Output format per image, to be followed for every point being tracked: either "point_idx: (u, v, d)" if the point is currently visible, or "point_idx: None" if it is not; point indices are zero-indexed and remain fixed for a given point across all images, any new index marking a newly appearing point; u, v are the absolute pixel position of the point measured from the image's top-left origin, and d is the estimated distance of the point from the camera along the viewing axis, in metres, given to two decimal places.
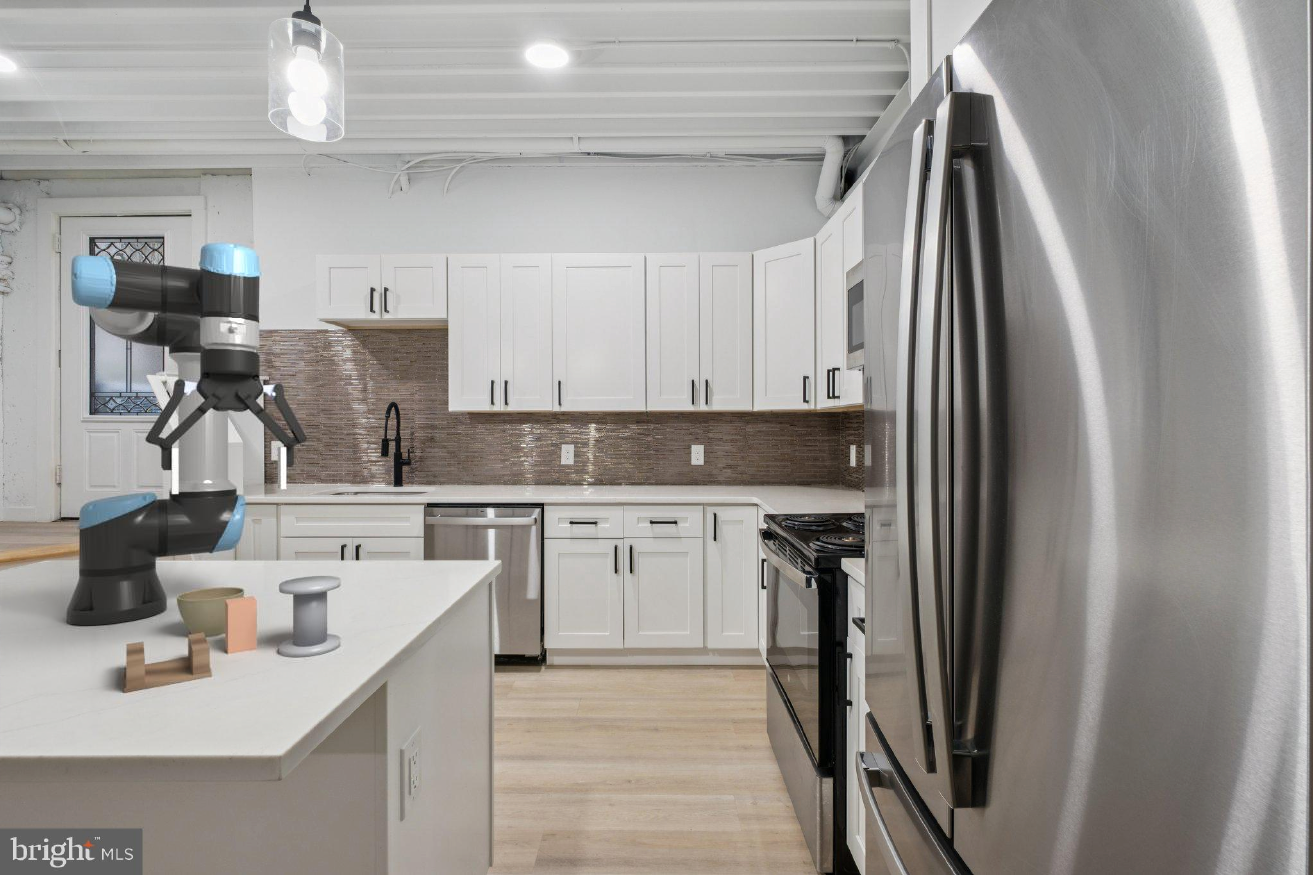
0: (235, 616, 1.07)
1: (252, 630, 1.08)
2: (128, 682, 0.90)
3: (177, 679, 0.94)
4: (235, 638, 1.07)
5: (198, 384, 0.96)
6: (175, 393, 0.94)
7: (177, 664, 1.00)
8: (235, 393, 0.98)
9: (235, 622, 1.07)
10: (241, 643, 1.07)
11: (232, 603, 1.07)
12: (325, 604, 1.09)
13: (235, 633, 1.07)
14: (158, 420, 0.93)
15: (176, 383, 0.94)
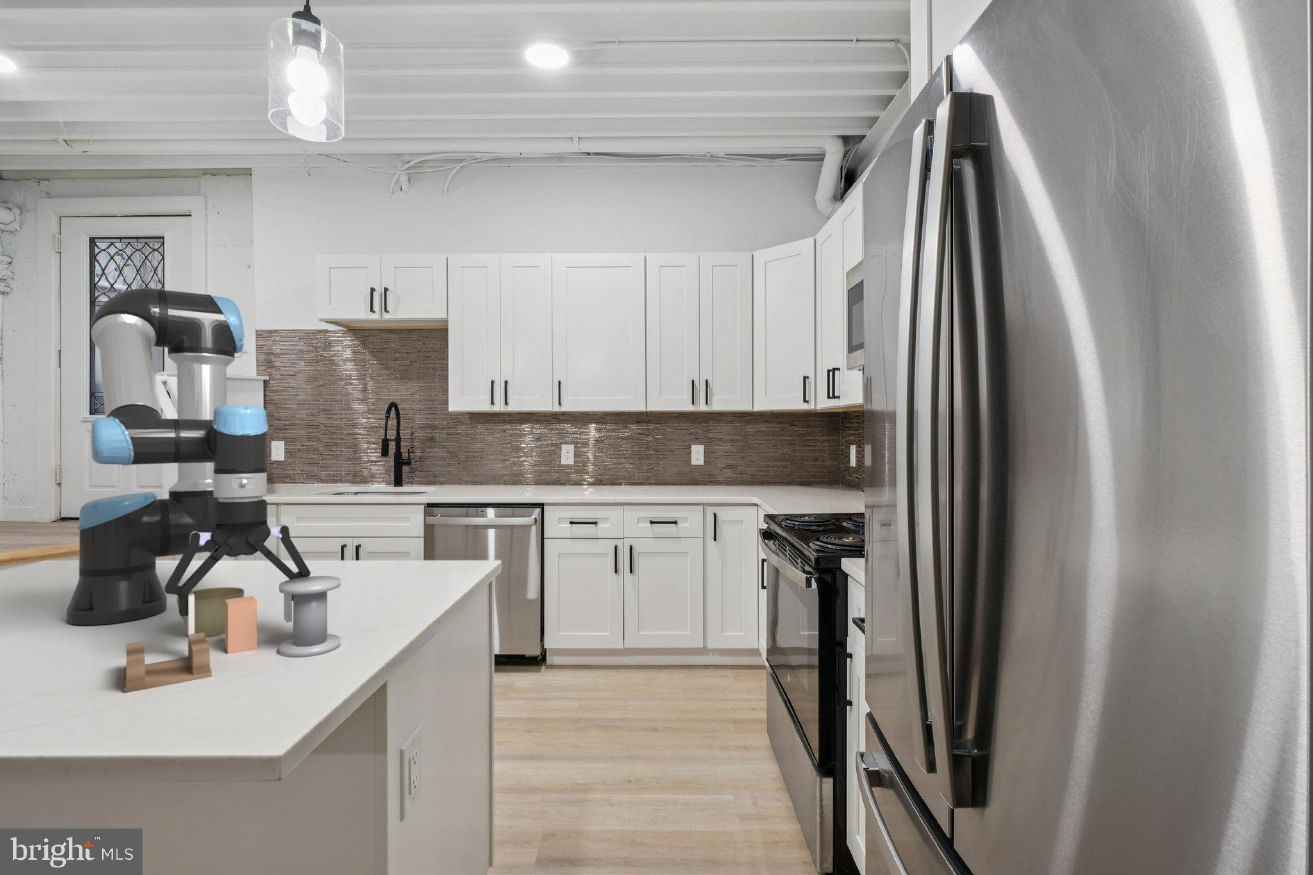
0: (235, 616, 1.07)
1: (252, 630, 1.08)
2: (128, 682, 0.90)
3: (177, 679, 0.94)
4: (235, 638, 1.07)
5: (212, 534, 1.06)
6: (191, 545, 1.03)
7: (177, 664, 1.00)
8: (245, 539, 1.08)
9: (235, 622, 1.07)
10: (241, 643, 1.07)
11: (232, 603, 1.07)
12: (325, 604, 1.09)
13: (235, 633, 1.07)
14: (176, 572, 1.02)
15: (192, 536, 1.04)
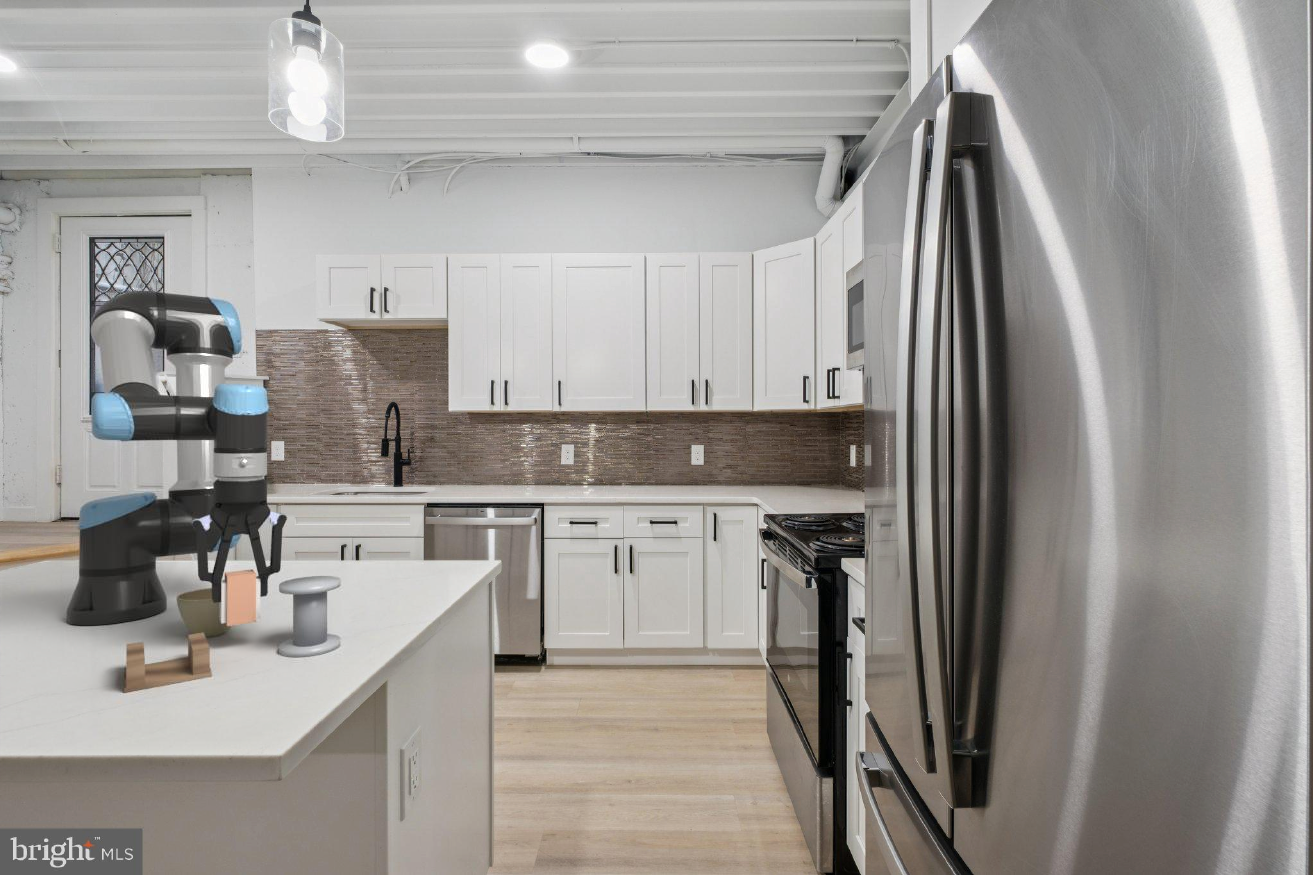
0: (234, 589, 1.07)
1: (251, 603, 1.09)
2: (128, 682, 0.90)
3: (177, 679, 0.94)
4: (234, 610, 1.07)
5: (211, 516, 1.06)
6: (198, 533, 1.04)
7: (177, 664, 1.00)
8: (245, 516, 1.08)
9: (234, 595, 1.07)
10: (240, 616, 1.08)
11: (231, 576, 1.07)
12: (325, 604, 1.09)
13: (234, 605, 1.07)
14: (199, 560, 1.05)
15: (194, 525, 1.04)
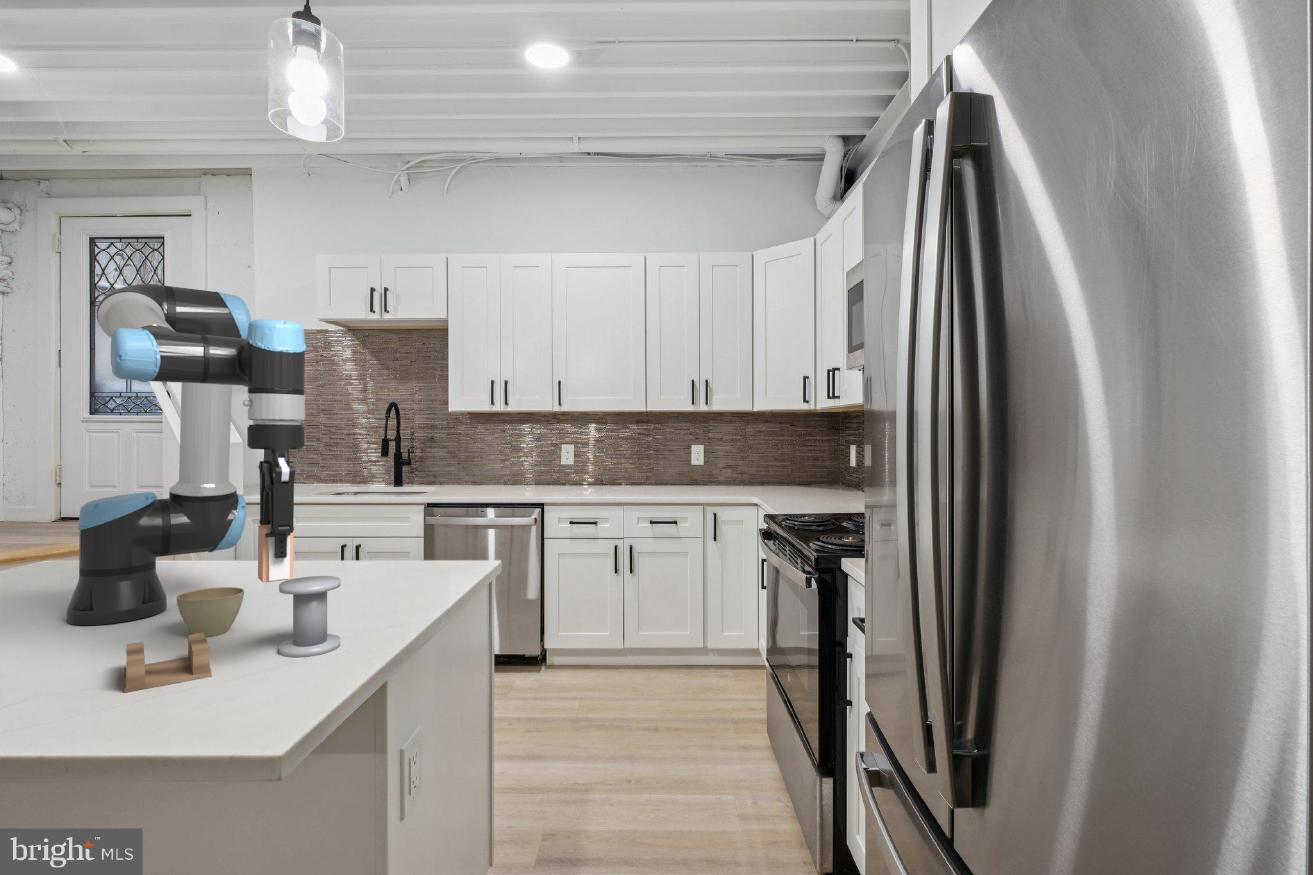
0: (259, 540, 1.00)
1: (262, 560, 0.98)
2: (128, 682, 0.90)
3: (177, 679, 0.94)
4: (259, 563, 1.00)
5: None
6: (260, 476, 1.04)
7: (177, 664, 1.00)
8: None
9: (259, 546, 1.00)
10: (260, 571, 0.99)
11: (260, 525, 1.00)
12: (325, 604, 1.09)
13: (259, 558, 1.00)
14: (260, 504, 1.04)
15: None
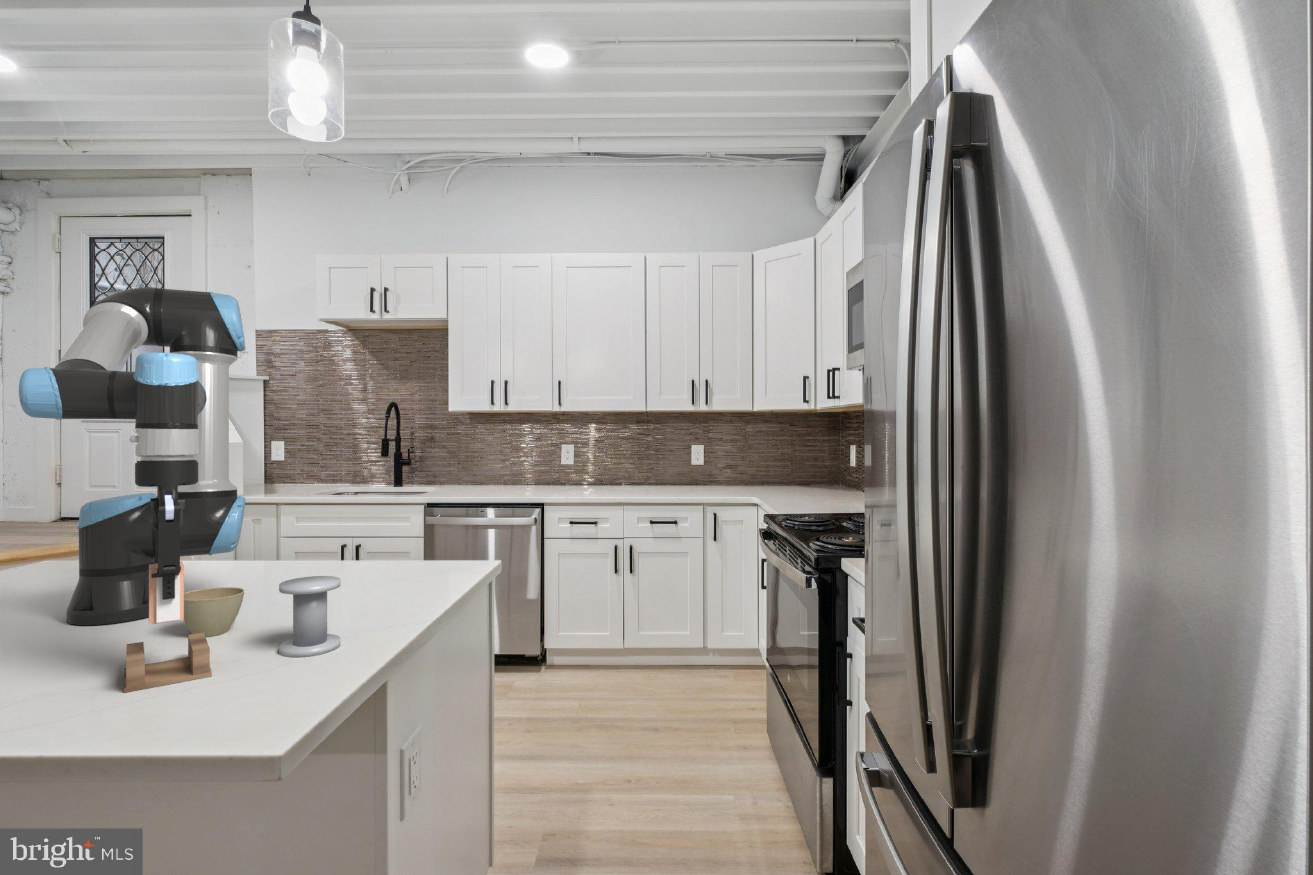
0: None
1: (149, 601, 0.95)
2: (128, 682, 0.90)
3: (177, 679, 0.94)
4: None
5: None
6: None
7: (177, 664, 1.00)
8: None
9: None
10: None
11: (151, 564, 0.97)
12: (325, 604, 1.09)
13: None
14: None
15: None
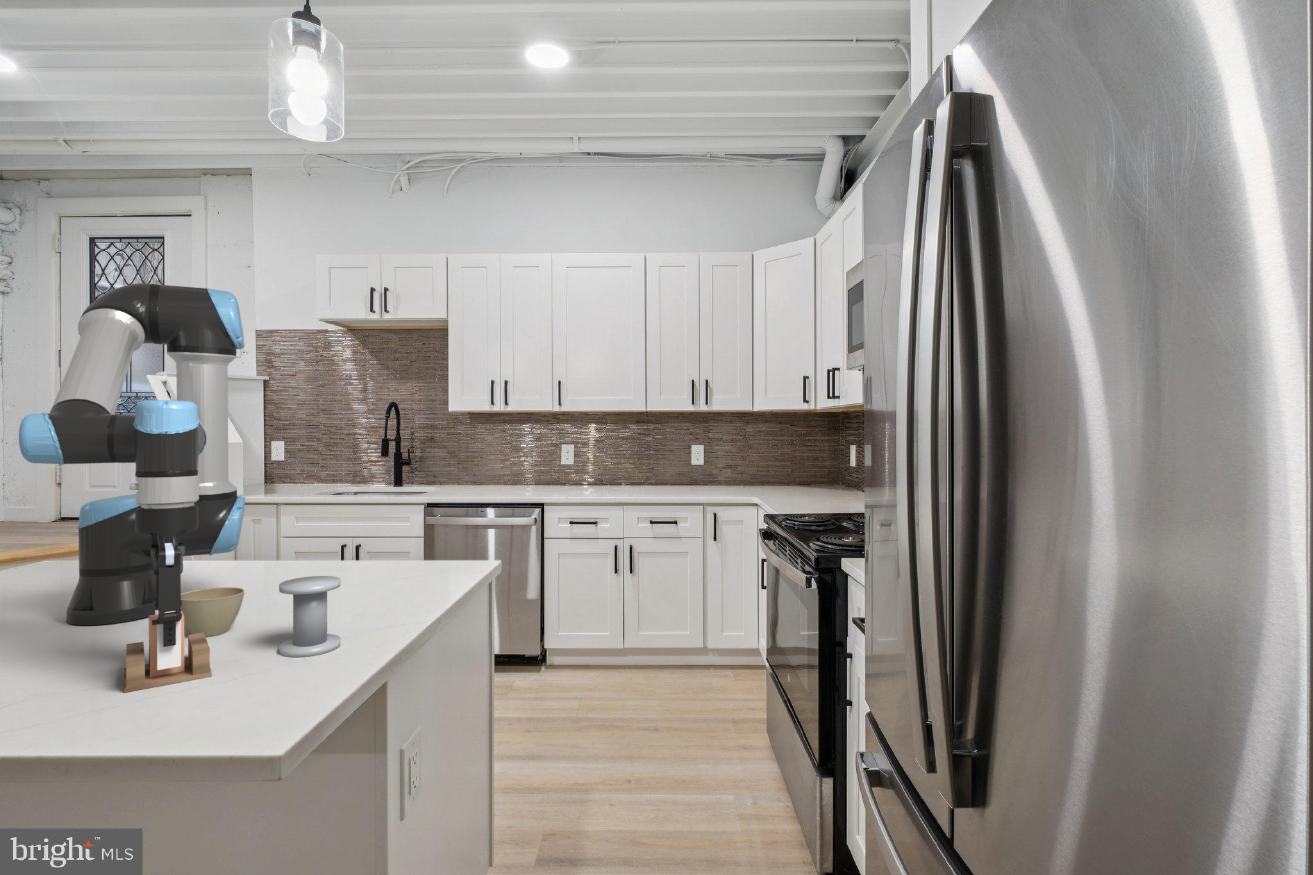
0: None
1: (149, 654, 0.95)
2: (128, 682, 0.90)
3: (177, 679, 0.94)
4: None
5: None
6: None
7: None
8: None
9: None
10: (149, 663, 0.96)
11: (150, 616, 0.97)
12: (325, 604, 1.09)
13: None
14: None
15: (155, 544, 1.01)
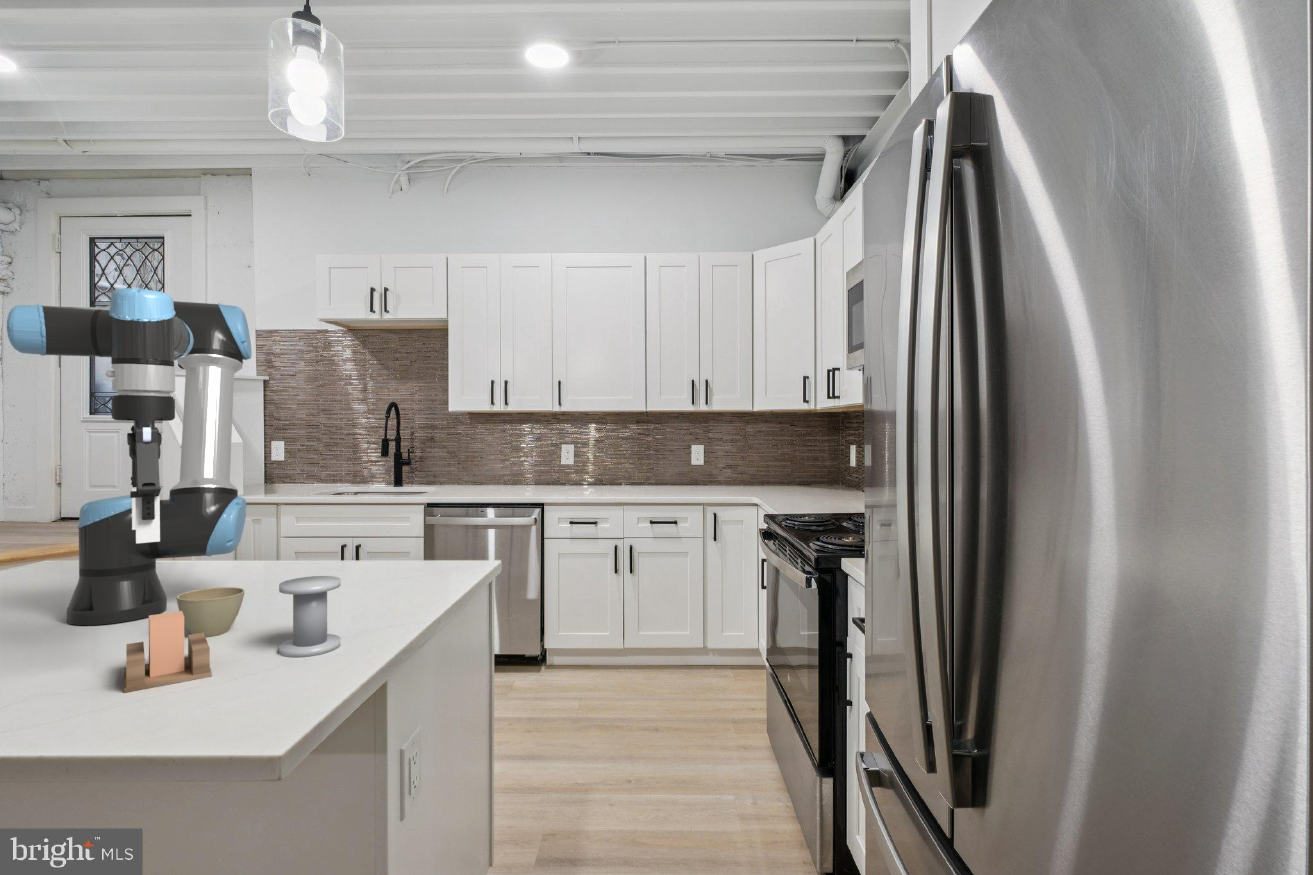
0: None
1: (149, 654, 0.95)
2: (128, 682, 0.90)
3: (177, 679, 0.94)
4: None
5: None
6: None
7: None
8: None
9: None
10: (149, 663, 0.96)
11: (150, 616, 0.97)
12: (325, 604, 1.09)
13: None
14: None
15: None
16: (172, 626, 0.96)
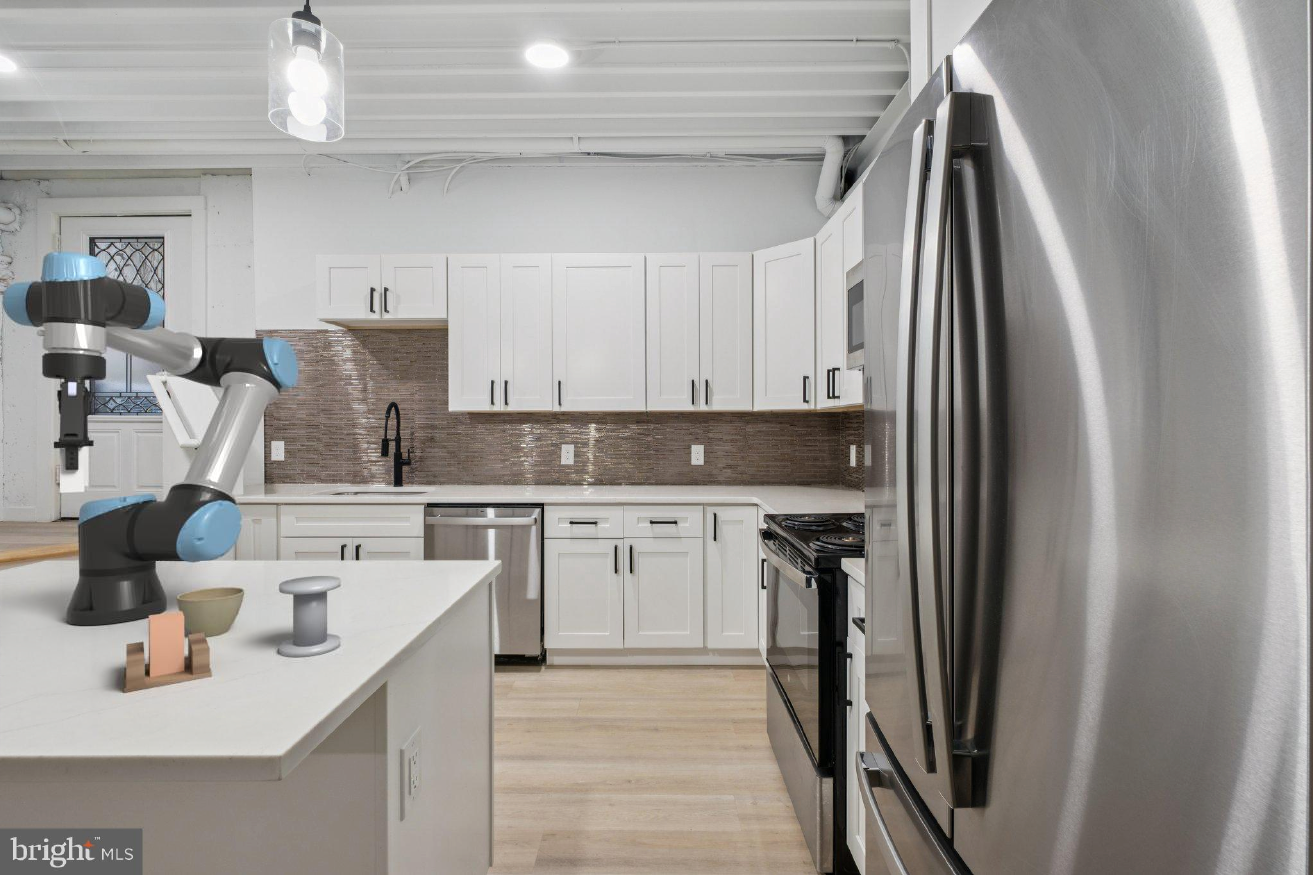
0: None
1: (149, 654, 0.95)
2: (128, 682, 0.90)
3: (177, 679, 0.94)
4: None
5: None
6: None
7: None
8: None
9: None
10: (149, 663, 0.96)
11: (150, 616, 0.97)
12: (325, 604, 1.09)
13: None
14: None
15: None
16: (172, 626, 0.96)
